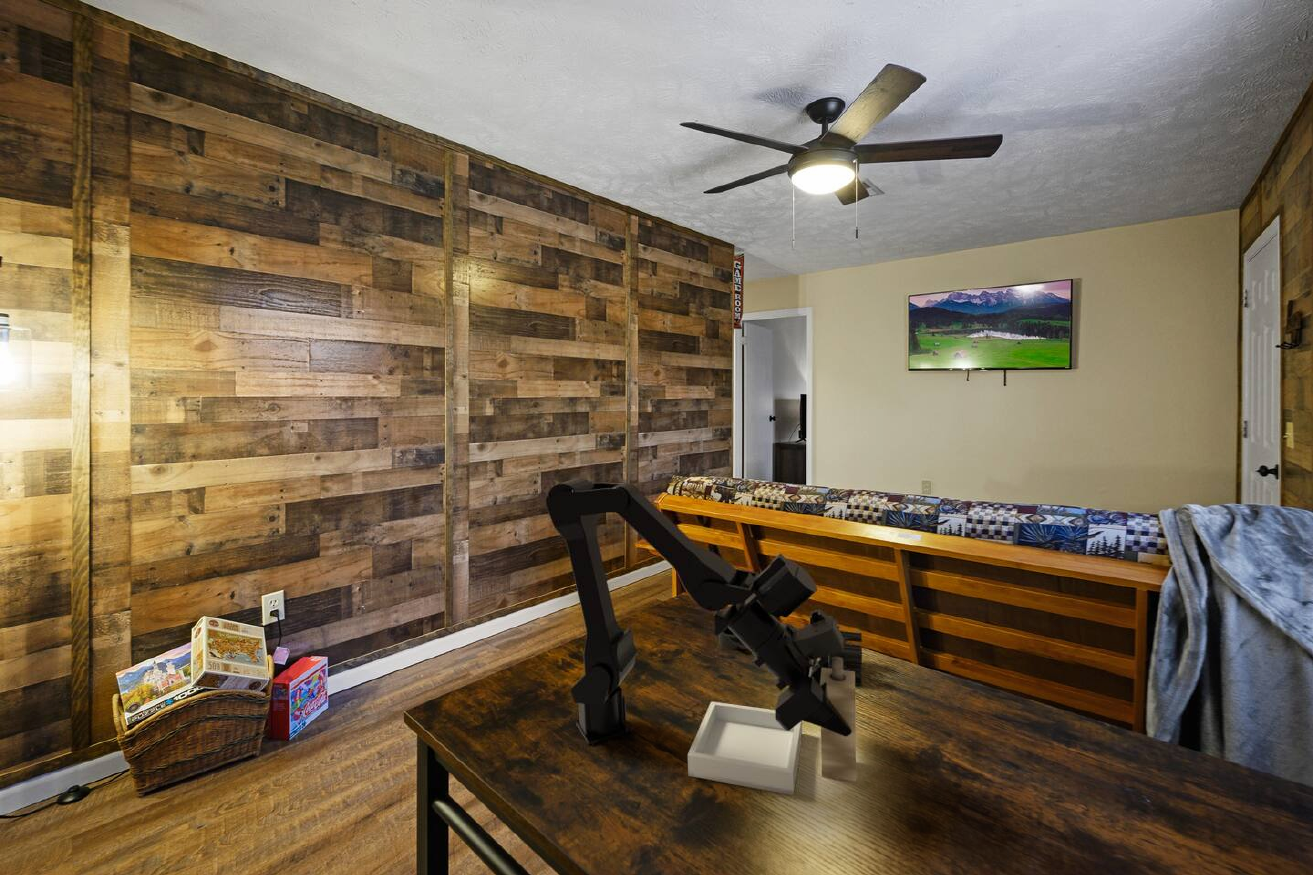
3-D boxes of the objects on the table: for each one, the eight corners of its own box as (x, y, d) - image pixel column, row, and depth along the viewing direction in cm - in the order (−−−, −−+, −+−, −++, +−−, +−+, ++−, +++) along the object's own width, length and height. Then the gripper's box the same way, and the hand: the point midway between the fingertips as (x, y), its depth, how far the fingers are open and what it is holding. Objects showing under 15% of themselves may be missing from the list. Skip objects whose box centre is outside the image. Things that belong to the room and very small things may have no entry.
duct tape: (711, 654, 114) (711, 640, 114) (717, 633, 124) (716, 620, 124) (750, 656, 113) (750, 642, 113) (753, 635, 122) (752, 622, 122)
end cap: (823, 657, 111) (822, 623, 110) (862, 662, 108) (861, 627, 108) (818, 682, 102) (818, 645, 101) (861, 688, 99) (860, 650, 99)
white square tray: (688, 775, 78) (687, 754, 78) (711, 719, 91) (711, 701, 91) (793, 795, 73) (792, 773, 73) (802, 733, 87) (801, 714, 86)
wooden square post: (821, 775, 77) (819, 664, 76) (823, 756, 81) (821, 650, 80) (856, 781, 75) (854, 668, 74) (856, 761, 80) (854, 653, 78)
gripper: (800, 627, 69) (900, 729, 66) (810, 578, 87) (890, 657, 84) (737, 681, 72) (830, 781, 69) (759, 624, 90) (834, 701, 87)
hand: (849, 723), depth 77 cm, fingers closed on wooden square post, 4 cm apart
